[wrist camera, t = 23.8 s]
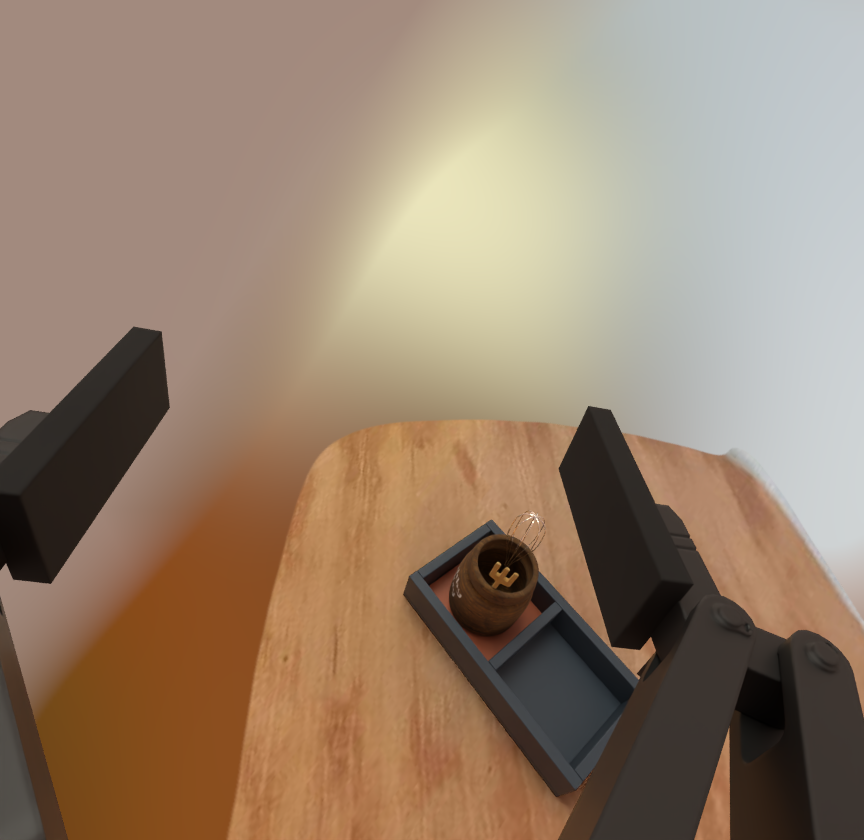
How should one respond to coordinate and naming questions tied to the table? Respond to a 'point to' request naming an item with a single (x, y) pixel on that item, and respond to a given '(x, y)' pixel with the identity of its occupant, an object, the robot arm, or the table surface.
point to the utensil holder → (494, 583)
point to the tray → (533, 670)
